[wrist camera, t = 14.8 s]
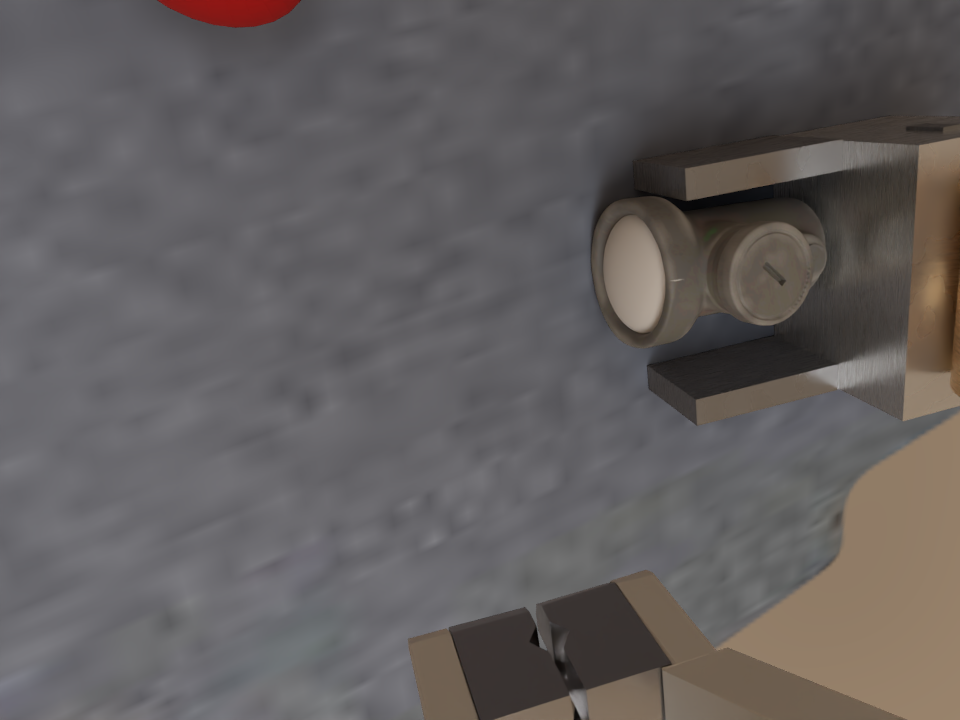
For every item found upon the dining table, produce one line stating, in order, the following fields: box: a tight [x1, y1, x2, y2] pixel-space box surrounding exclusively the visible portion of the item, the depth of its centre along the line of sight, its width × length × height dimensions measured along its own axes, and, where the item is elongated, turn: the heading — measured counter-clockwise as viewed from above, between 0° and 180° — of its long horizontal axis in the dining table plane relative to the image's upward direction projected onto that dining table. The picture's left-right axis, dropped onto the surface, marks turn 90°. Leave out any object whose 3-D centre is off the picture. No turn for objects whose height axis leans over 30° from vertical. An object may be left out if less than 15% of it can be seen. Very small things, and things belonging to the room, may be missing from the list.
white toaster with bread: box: [633, 116, 960, 426], centre depth 39 cm, size 14×17×17 cm
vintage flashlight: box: [591, 196, 827, 348], centre depth 41 cm, size 12×8×10 cm
